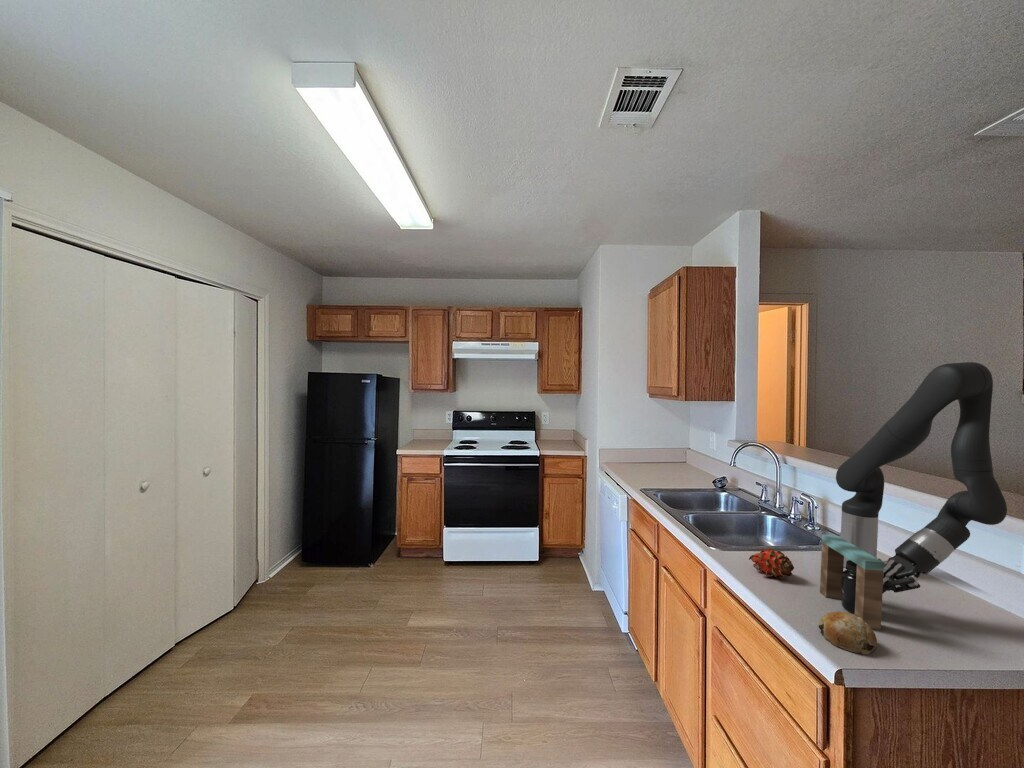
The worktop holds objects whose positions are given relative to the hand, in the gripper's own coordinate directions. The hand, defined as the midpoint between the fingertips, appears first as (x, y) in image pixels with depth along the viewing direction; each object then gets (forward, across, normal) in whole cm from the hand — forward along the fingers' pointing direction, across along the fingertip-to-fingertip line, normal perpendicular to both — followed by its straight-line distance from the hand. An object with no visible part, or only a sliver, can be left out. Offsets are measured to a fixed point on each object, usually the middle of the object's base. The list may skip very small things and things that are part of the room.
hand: (869, 595), depth 114 cm
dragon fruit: (+14, -18, -8) cm, 25 cm away
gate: (+6, 0, 0) cm, 6 cm away
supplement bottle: (+5, 0, +1) cm, 5 cm away
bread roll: (+13, +15, -7) cm, 21 cm away
